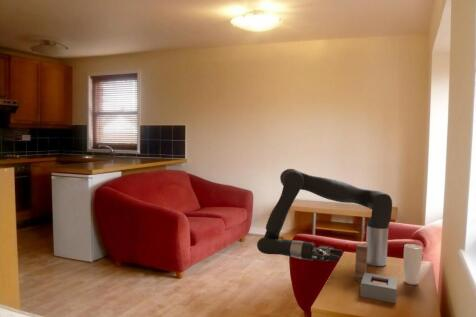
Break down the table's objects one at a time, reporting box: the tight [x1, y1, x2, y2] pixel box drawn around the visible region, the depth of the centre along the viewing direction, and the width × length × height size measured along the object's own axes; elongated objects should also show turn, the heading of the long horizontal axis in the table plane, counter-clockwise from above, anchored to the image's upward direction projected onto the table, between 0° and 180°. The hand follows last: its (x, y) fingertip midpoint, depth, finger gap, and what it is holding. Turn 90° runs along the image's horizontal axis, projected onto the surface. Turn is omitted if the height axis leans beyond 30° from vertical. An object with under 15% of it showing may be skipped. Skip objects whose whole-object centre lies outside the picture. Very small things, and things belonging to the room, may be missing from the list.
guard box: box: [359, 272, 398, 304], centre depth 143 cm, size 12×12×5 cm
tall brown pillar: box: [354, 243, 368, 281], centre depth 157 cm, size 4×4×14 cm
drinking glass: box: [403, 243, 424, 286], centre depth 155 cm, size 7×7×15 cm
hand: (340, 255), depth 161 cm, fingers open, 8 cm apart
